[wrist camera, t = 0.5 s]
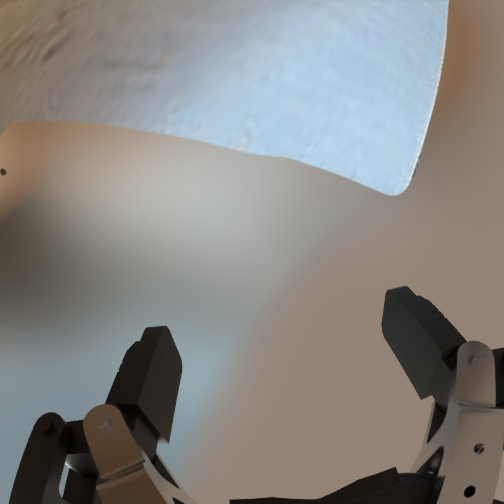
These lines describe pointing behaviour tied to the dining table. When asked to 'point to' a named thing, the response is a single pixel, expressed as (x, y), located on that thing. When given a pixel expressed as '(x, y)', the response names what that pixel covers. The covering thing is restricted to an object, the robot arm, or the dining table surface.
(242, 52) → the dining table surface
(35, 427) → the robot arm
